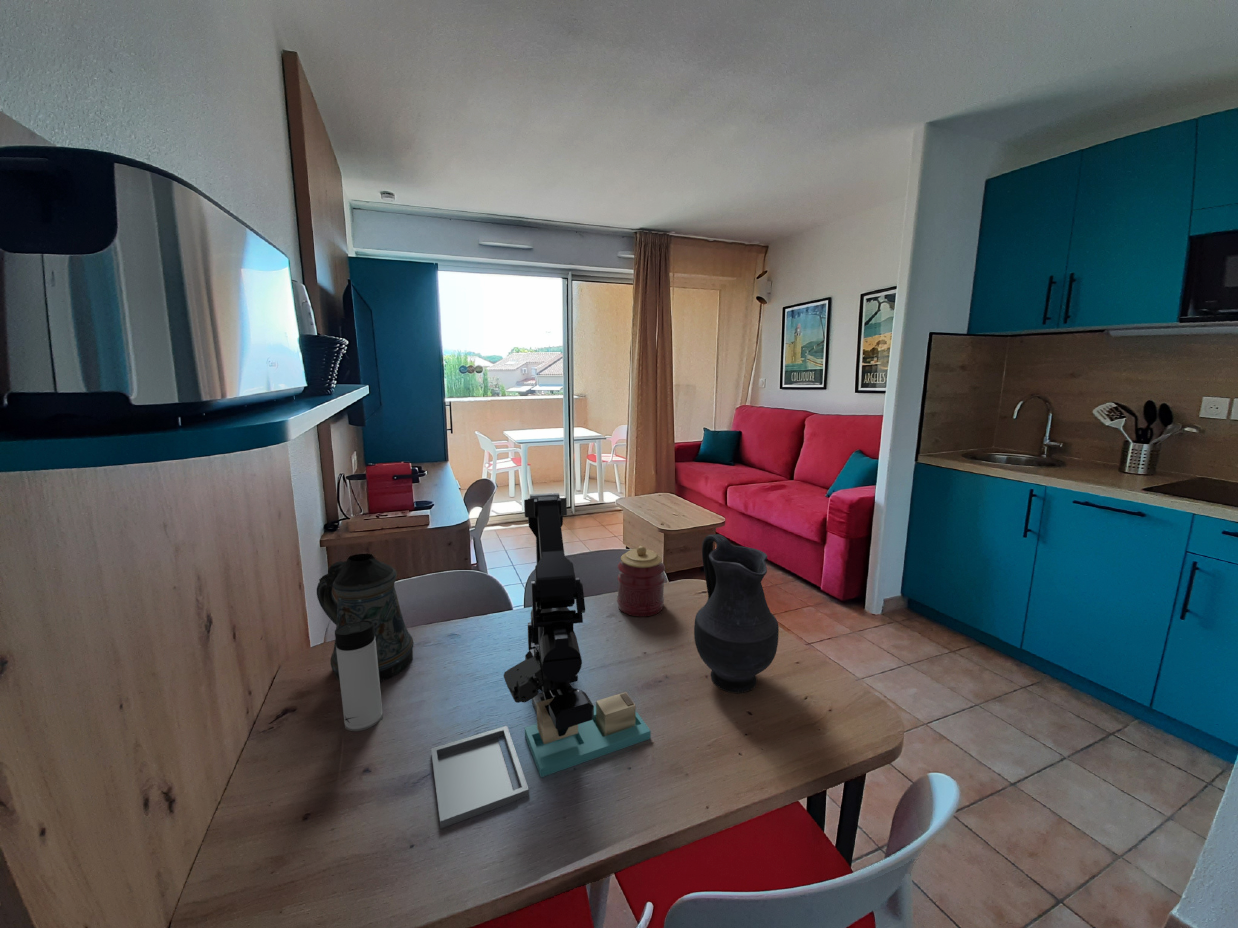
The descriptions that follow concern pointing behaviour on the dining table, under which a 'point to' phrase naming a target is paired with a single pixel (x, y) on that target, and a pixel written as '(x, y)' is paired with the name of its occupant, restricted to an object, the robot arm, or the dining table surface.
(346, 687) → the travel mug
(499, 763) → the grey tray
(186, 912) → the dining table surface
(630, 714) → the block
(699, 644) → the pitcher
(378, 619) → the beer stein
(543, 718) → the block
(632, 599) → the canister
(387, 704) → the dining table surface
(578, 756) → the teal block holder tray
